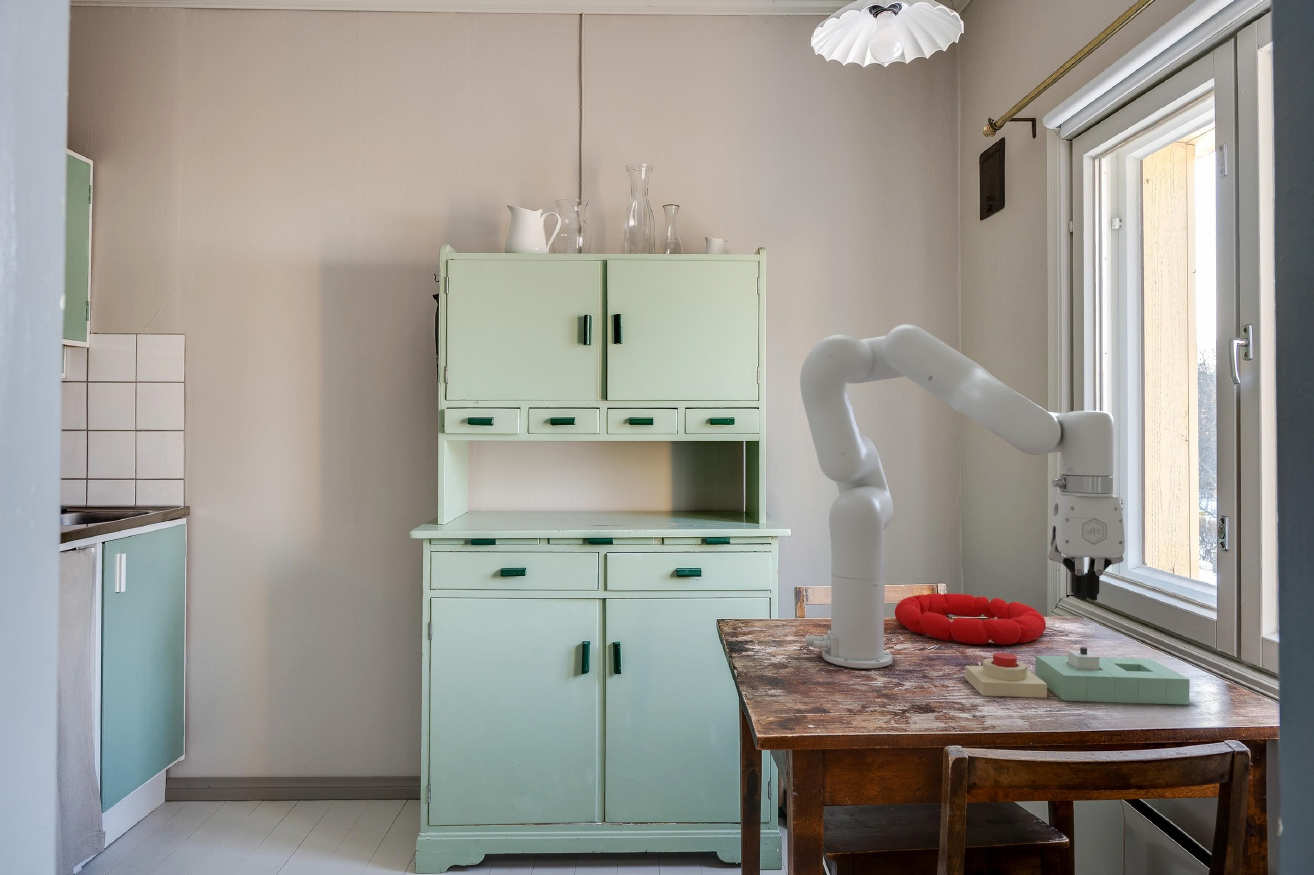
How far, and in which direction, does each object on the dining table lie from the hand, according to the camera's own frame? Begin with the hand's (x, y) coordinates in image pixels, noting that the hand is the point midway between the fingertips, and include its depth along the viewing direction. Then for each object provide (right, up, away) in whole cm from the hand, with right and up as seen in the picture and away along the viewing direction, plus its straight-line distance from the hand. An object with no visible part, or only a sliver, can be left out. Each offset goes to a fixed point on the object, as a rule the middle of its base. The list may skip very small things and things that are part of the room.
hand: (1085, 598), depth 129 cm
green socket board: (+4, -15, 0) cm, 16 cm away
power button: (-13, -11, +1) cm, 17 cm away
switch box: (-13, -15, +1) cm, 20 cm away
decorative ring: (-3, -15, +40) cm, 43 cm away
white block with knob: (0, -15, 0) cm, 15 cm away
